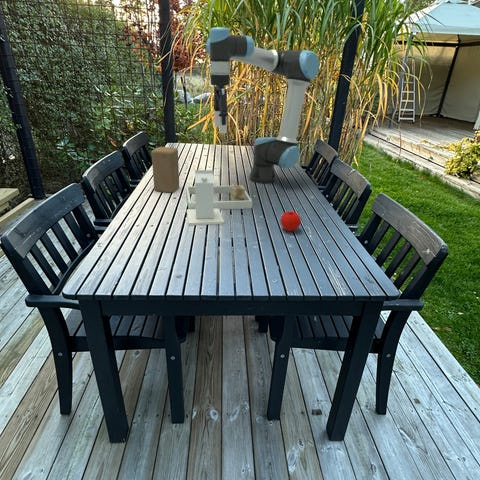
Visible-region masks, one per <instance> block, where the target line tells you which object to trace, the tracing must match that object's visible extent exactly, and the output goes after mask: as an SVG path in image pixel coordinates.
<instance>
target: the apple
mask: <svg viewBox="0 0 480 480" xmlns="http://www.w3.org/2000/svg"><path fill="white" fill-rule="evenodd" d="M301 222H302V220H301V217H300V215H299V214H298V213H297V212H296V211H286V212H284V213H283V214H282V215H281V217H280V225H281V226H282V228H284V229H285V231H288V232H294V231H296V230H297V229H298V228H299V227H300V226H301Z"/></svg>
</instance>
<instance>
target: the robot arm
mask: <svg viewBox="0 0 480 480" xmlns="http://www.w3.org/2000/svg"><path fill="white" fill-rule="evenodd" d="M230 31H231V30H230V28H228V27H222V26H221V27H219V26H217V27H215V26H214V27H211V28H210V30H209V38H208V39H207V40H206V46H205V47H206V51H207V54H208V55H209V59H210V60H209V61H210V64H208V68H210V71H209V72H210V73H211V74H210V76H209V77H210V85H212V86H214V87H213V88H214V90H213V91H214V94H213V96H214V97H213V110H214V128H219V134H227V133H228V127H227V126H228V123H227V122H228V120H227V119H228V116H229V110H228V101H227V100H228V99H227V88H225V86H229V85H230V82H231V81H230V79H231V78H230V75H229V74H230V72H231V69H230V67H231V61H235V62H240V63H243V64H247V65H250V66H251V65H252V66H254V67H258V68H262V69H264V70H265V71H266V72H268V73H272V74H275V75H279V76H282V77H285V78H286V82H287V85H288V87H287V92H286V96H285V97H286V98H285V102H284V107H283V113H282V118H281V123H280V128H279V133H278V135H277V137H274V136H268V137H267V136H265V137H257V138H255V139H254V145H253V160H252V167H251V170H250V172H249V176H248V178H249V179H248V180H250V181H251V182H252V183H253V182H254V183H257V184H273V183H274V182H275V183H276V181H277V174H276V169H275V166H277V167H280V168H283V169H284V168H285V169H291V168H293V167H294V166H295V165H296V164H297V163H298V161H299V160H300V156H301V150H300V148H299V146H298V143H299V142H298V140H297V139H296V138H297V134H298V128H299V124H300V119H301V114H302V110H303V105H304V100H305V96H306V90H307V87H308V86H310V85H311V83H312V80H313V79H315V78H316V77H317V75H318V73H319V70H320V62H319V61H320V60H319V58H318V55H317V53H316V52H315V51H313V50H307V49H299V50H297V49H294V50H293V49H292V50H288V49H287V50H277V49H273V48H272V49H269V50H268V49H265V48H262V47H257V46H256V45H255V41H254V39H253V38H252V37H251V36H249V35H245V34H244V35H239V34H231V32H230Z"/></svg>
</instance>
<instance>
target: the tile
mask: <svg viewBox="0 0 480 480" xmlns="http://www.w3.org/2000/svg"><path fill="white" fill-rule="evenodd" d="M186 217H187V222H188V226H203V225H204V226H205V225H224V224H225V220H224V219H223V215H222V212H221V210H219V208H215V209H213V218H196V209H189V208H188V209H186Z"/></svg>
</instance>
